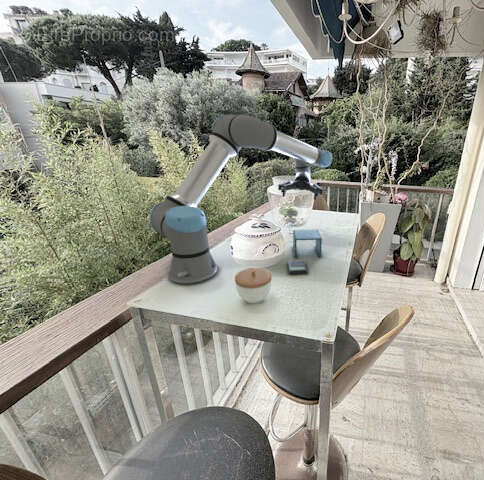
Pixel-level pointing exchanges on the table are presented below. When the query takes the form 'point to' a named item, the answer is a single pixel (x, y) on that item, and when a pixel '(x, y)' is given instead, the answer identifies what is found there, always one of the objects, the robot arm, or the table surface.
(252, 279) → the trinket box
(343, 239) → the table surface
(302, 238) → the cover
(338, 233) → the table surface
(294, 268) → the calculator
